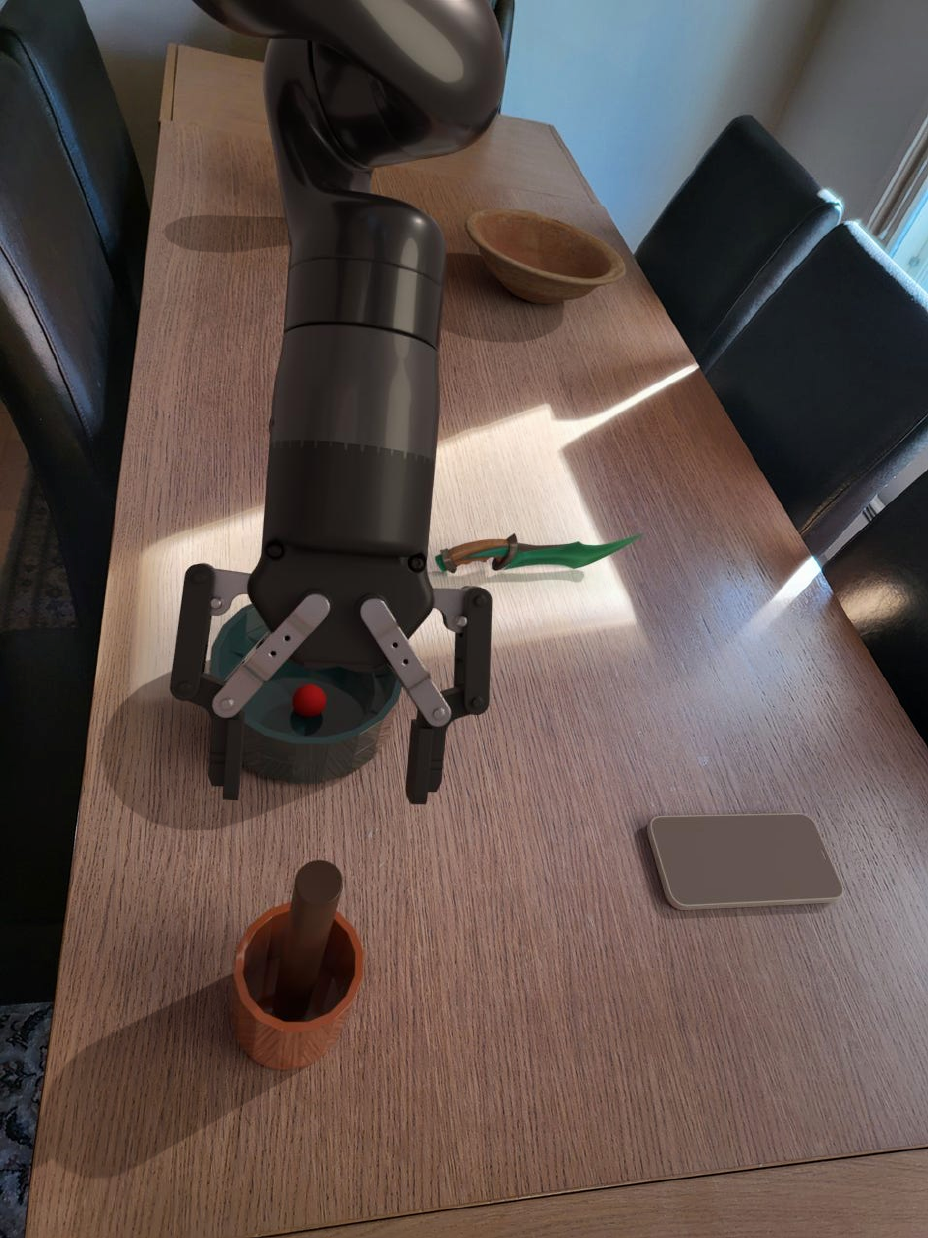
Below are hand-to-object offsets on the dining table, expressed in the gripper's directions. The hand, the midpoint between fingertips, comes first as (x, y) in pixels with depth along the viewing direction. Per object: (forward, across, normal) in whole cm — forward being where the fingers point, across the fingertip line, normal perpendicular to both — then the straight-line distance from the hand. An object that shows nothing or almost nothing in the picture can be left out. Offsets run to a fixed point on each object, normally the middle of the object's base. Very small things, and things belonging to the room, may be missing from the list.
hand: (326, 798), depth 39 cm
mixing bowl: (+1, 0, +28) cm, 28 cm away
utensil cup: (+17, 0, +12) cm, 21 cm away
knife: (-12, +22, +41) cm, 48 cm away
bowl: (-53, +32, +82) cm, 103 cm away
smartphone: (+10, +35, +19) cm, 41 cm away
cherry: (0, 0, +26) cm, 26 cm away
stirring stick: (+16, 0, +12) cm, 20 cm away
